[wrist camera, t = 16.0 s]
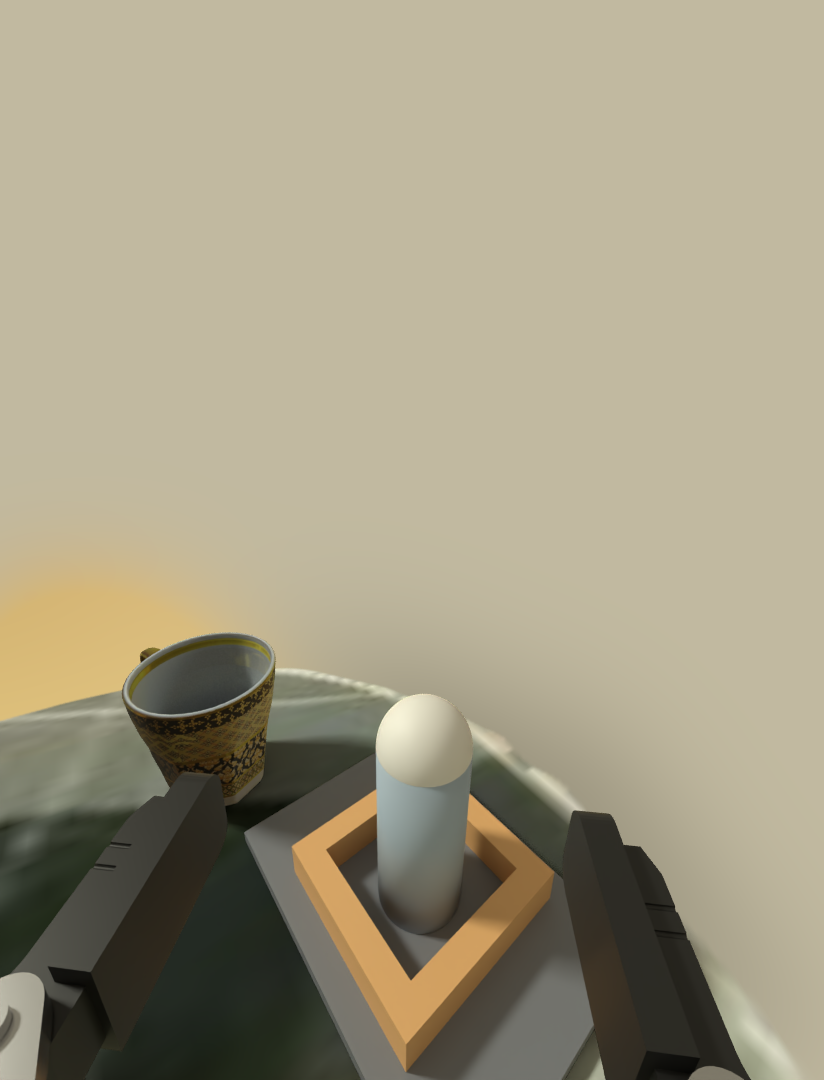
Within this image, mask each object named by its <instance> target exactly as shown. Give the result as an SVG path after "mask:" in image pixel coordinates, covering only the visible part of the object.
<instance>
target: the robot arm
mask: <svg viewBox="0 0 824 1080" xmlns="http://www.w3.org/2000/svg"><path fill="white" fill-rule="evenodd" d="M226 832H227V815H226V809H225V803H224V798H223V792H222V786H221V781H220V778H219V776H218V775H215V774H205V773H194V772H184V773H182V774H181V775H180V776H179V777H178V778H177V779H176V781H175V782H174V784H173V785H172V786H171V788H170V789H169V791H168V792H167V794H166V795H165V797H160V796H153V797H152V798H151V799H150V800H149V801H147V802H146V803H145V804H144V805H143V806H141V807H140V808H139V809H138V810H137V811H135V812H134V813H133V814H132V815H131V816H130V817H129V818H128V819H127V821H126V822H125V823H124V825H123V826H122V827H121V829H120V830H119V831H118V833H117V834H116V835H115V837H114V838H113V840H112V841H111V844H110V846H109V847H107V848H106V849H105V850H104V852H103V853H102V854H101V856H100V857H99V858H98V860H97V861H96V863H95V866H94V868H93V869H90V871H89V872H88V873H87V875H86V876H85V877H84V879H83V880H82V881H81V883H80V884H79V886H78V887H77V888H76V890H75V891H74V892H73V894H72V895H71V896H70V898H69V899H68V900H67V902H66V903H65V904H64V906H63V907H62V909H61V910H60V911H59V913H58V914H57V915H56V917H55V918H54V919H53V921H52V922H51V923H50V925H49V926H48V927H47V929H46V930H45V932H44V933H43V934H42V936H41V937H40V938H39V940H38V941H37V942H36V944H35V945H34V946H33V948H32V949H31V950H30V952H29V953H28V954H27V956H26V957H25V958H24V959H23V961H22V962H21V963H20V964H19V965H18V966H17V967H16V968H15V970H14V971H13V972H12V973H11V974H10V975H7V976H5V977H2V978H0V1080H85V1076H86V1074H87V1072H88V1071H89V1069H90V1067H91V1065H92V1063H93V1061H94V1059H95V1057H96V1055H97V1053H98V1052H99V1050H100V1048H102V1049H108V1050H115V1051H123V1049H124V1046H125V1044H126V1042H127V1040H128V1038H129V1036H130V1034H131V1032H132V1030H133V1028H134V1026H135V1024H136V1022H137V1020H138V1018H139V1016H140V1014H141V1012H142V1010H143V1008H144V1006H145V1004H146V1002H147V1000H148V998H149V996H150V994H151V992H152V990H153V988H154V986H155V984H156V982H157V980H158V977H159V975H160V973H161V971H162V969H163V967H164V965H165V963H166V961H167V959H168V957H169V955H170V953H171V951H172V949H173V947H174V945H175V943H176V941H177V939H178V937H179V935H180V933H181V931H182V929H183V927H184V925H185V923H186V921H187V919H188V917H189V915H190V913H191V910H192V908H193V906H194V904H195V902H196V900H197V898H198V896H199V894H200V892H201V890H202V888H203V886H204V884H205V882H206V880H207V878H208V876H209V874H210V872H211V870H212V868H213V866H214V864H215V862H216V860H217V858H218V856H219V854H220V851H221V849H222V847H223V844H224V841H225V837H226ZM563 881H564V888H565V894H566V898H567V903H568V908H569V912H570V917H571V921H572V926H573V931H574V935H575V940H576V945H577V949H578V954H579V959H580V963H581V968H582V972H583V977H584V982H585V986H586V991H587V996H588V1000H589V1005H590V1010H591V1014H592V1019H593V1024H594V1028H595V1033H596V1037H597V1042H598V1047H599V1051H600V1056H601V1061H602V1065H603V1070H604V1075H605V1079H606V1080H751V1079H750V1078H749V1076H748V1074H747V1072H746V1071H745V1069H744V1067H743V1065H742V1064H741V1062H740V1059H739V1057H738V1055H737V1053H736V1051H735V1048H734V1046H733V1044H732V1041H731V1039H730V1037H729V1034H728V1032H727V1029H726V1027H725V1025H724V1022H723V1020H722V1017H721V1015H720V1013H719V1010H718V1008H717V1005H716V1003H715V1001H714V998H713V996H712V993H711V991H710V989H709V986H708V984H707V981H706V979H705V977H704V974H703V972H702V969H701V967H700V965H699V962H698V960H697V958H696V955H695V953H694V950H693V948H692V946H691V943H690V941H689V940H688V939H687V937H686V931H685V929H684V926H683V924H682V922H681V919H680V917H679V914H678V913H677V912H676V911H675V905H674V903H673V900H672V898H671V895H670V893H669V890H668V888H667V886H666V883H665V881H664V878H663V876H662V874H661V873H660V872H659V870H658V869H657V868H656V866H655V865H654V864H653V862H652V861H651V860H650V859H649V858H648V856H647V855H646V853H645V852H644V851H643V850H642V848H641V847H638V846H628V845H623V842H622V839H621V837H620V834H619V831H618V829H617V826H616V823H615V821H614V819H613V817H612V816H611V815H610V814H606V813H596V812H585V811H573V813H572V816H571V820H570V825H569V830H568V835H567V840H566V845H565V850H564V854H563Z"/></svg>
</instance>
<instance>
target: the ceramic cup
mask: <svg viewBox="0 0 824 1080" xmlns="http://www.w3.org/2000/svg"><path fill="white" fill-rule="evenodd" d="M140 661H141V663H140V664H139V665H138V666H137V667H136V668H135V669H134V670H133V671H132V672H131V673H130V675H129V676H128V678H127V679H126V681H125V683H124V685H123V689H122V698H123V701H124V704H125V706H126V709H127V711H128V714H129V716H130V718H131V720H132V722H133V724H134V725H135V727H136V729H137V731H138V733H139V735H140V736H141V738H142V739H143V741H144V742H145V743H146V745H147V746H148V747H149V749H150V752H151V754H152V756H153V758H154V759H155V761H156V763H157V765H158V767H159V768H160V770H161V772H162V774H163V776H164V778H165V780H166V782H167V784H168V786H169V787H170V788H171V786H172V785H173V784H174V782H175V781H176V779H177V778H178V777H179V776H180V775H181V774H182V773H184V772H194V773H205V774H215V775H218V776H219V778H220V781H221V786H222V792H223V798H224V803H225V806H227V805H232V804H236V803H238V802H239V801H240V800H241V799H242V798H243V797H244V796H245V795H246V794H247V793H248V792H249V791H250V790H251V789H252V788H254V787H255V786H256V785H257V784H258V783H259V782H260V781H261V779H262V777H263V772H264V763H265V746H266V734H267V724H268V717H269V712H270V708H271V703H272V696H273V688H274V678H275V654H274V651H273V649H272V647H271V646H270V645H269V644H268V643H267V642H266V641H264V640H262V639H260V638H258V637H256V636H253V635H248V634H243V633H230V632H229V633H214V634H207V635H201V636H197V637H193V638H189V639H186V640H183V641H180V642H177V643H175V644H172V645H170V646H168V647H166V648H164V649H162V650H160V649H157V648H148V649H146V650H144V651H143V652H141V654H140Z"/></svg>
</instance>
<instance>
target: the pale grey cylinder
mask: <svg viewBox="0 0 824 1080" xmlns="http://www.w3.org/2000/svg"><path fill="white" fill-rule="evenodd" d="M472 758H473V741H472V735H471V731H470V728H469V725H468V723H467V721H466V719H465V718H464V716H463V715H462V713H461V712H460V711H459V710H458V709H457V708H456V707H455V706H454V705H453V704H452V703H450V702H449V701H447V700H446V699H444V698H442V697H439V696H436V695H431V694H417V695H412V696H409V697H406V698H404V699H402V700H401V701H399V702H398V703H396V704H395V705H394V706H393V707H392V708H391V709H390V710H389V711H388V712H387V714H386V715H385V717H384V718H383V720H382V722H381V724H380V727H379V730H378V733H377V739H376V789H377V852H378V894H379V900H380V903H381V906H382V908H383V910H384V912H385V914H386V915H387V917H388V918H389V919H390V921H391V922H392V923H394V924H395V925H396V926H397V927H399V928H400V929H402V930H404V931H406V932H409V933H413V934H429V933H432V932H435V931H437V930H439V929H441V928H442V927H444V926H445V925H446V924H447V923H448V922H449V921H450V920H451V919H452V917H453V916H454V914H455V913H456V910H457V908H458V905H459V902H460V896H461V886H462V874H463V863H464V851H465V839H466V828H467V816H468V804H469V793H470V781H471V769H472Z"/></svg>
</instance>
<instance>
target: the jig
mask: <svg viewBox="0 0 824 1080" xmlns="http://www.w3.org/2000/svg"><path fill="white" fill-rule="evenodd" d="M244 834H245V840H246V842H247V845H248V847H249V849H250V851H251V853H252V855H253V857H254V859H255V861H256V863H257V865H258V867H259V869H260V871H261V873H262V876H263V878H264V880H265V882H266V884H267V886H268V888H269V890H270V892H271V894H272V896H273V898H274V900H275V902H276V904H277V907H278V909H279V911H280V913H281V915H282V917H283V919H284V921H285V923H286V925H287V927H288V929H289V931H290V933H291V936H292V938H293V940H294V942H295V944H296V946H297V948H298V950H299V952H300V954H301V956H302V958H303V960H304V962H305V964H306V967H307V969H308V971H309V973H310V975H311V977H312V979H313V981H314V983H315V985H316V987H317V989H318V991H319V993H320V995H321V998H322V1000H323V1002H324V1004H325V1006H326V1008H327V1010H328V1012H329V1014H330V1016H331V1018H332V1020H333V1022H334V1024H335V1026H336V1029H337V1031H338V1033H339V1035H340V1037H341V1039H342V1041H343V1043H344V1045H345V1047H346V1049H347V1051H348V1053H349V1055H350V1058H351V1060H352V1062H353V1064H354V1066H355V1068H356V1070H357V1072H358V1074H359V1076H360V1078H361V1080H565V1078H566V1076H567V1075H568V1073H569V1071H570V1070H571V1068H572V1066H573V1065H574V1063H575V1061H576V1059H577V1058H578V1056H579V1054H580V1053H581V1051H582V1049H583V1048H584V1046H585V1044H586V1042H587V1041H588V1039H589V1037H590V1036H591V1034H592V1032H593V1030H594V1029H595V1028H594V1024H593V1019H592V1014H591V1010H590V1005H589V1000H588V996H587V991H586V986H585V982H584V977H583V972H582V968H581V963H580V959H579V954H578V949H577V945H576V940H575V935H574V931H573V926H572V921H571V917H570V912H569V908H568V903H567V898H566V894H565V888H564V881H563V879H562V878H561V877H560V876H559V875H558V874H557V873H555V872H554V871H553V870H552V869H551V868H550V867H549V866H548V865H547V864H546V863H545V862H544V861H542V860H541V859H540V858H539V857H538V856H537V855H536V854H535V853H534V852H533V851H532V850H531V849H529V848H528V847H527V846H526V845H525V844H524V843H523V842H522V841H521V840H520V839H519V838H518V837H516V836H515V835H514V834H513V833H512V832H511V831H510V830H509V829H508V828H507V827H506V826H505V825H504V824H502V823H501V822H500V821H499V820H498V819H497V818H496V817H495V816H494V815H493V814H492V813H491V812H489V811H488V810H487V809H486V808H485V807H484V806H483V805H482V804H481V803H480V802H479V801H478V800H476V799H475V798H474V797H473V796H472V795H471V794H470V793H469V804H468V816H467V828H466V839H465V851H464V863H463V874H462V886H461V896H460V902H459V905H458V908H457V910H456V913H455V914H454V916H453V917H452V919H451V920H450V921H449V922H448V923H447V924H446V925H445V926H444V927H442V928H441V929H439V930H437V931H435V932H432V933H429V934H413V933H409V932H406V931H404V930H402V929H400V928H399V927H397V926H396V925H395V924H394V923H392V922H391V921H390V919H389V918H388V917H387V915H386V914H385V912H384V910H383V908H382V906H381V903H380V900H379V894H378V852H377V789H376V752H375V753H373V754H372V755H370V756H368V757H367V758H365V759H363V760H362V761H360V762H358V763H357V764H355V765H354V766H352V767H350V768H349V769H347V770H345V771H344V772H342V773H340V774H339V775H337V776H336V777H334V778H332V779H331V780H329V781H327V782H326V783H324V784H322V785H321V786H319V787H318V788H316V789H314V790H313V791H311V792H309V793H308V794H306V795H304V796H303V797H301V798H300V799H298V800H296V801H295V802H293V803H291V804H290V805H288V806H286V807H285V808H283V809H282V810H280V811H278V812H277V813H275V814H273V815H272V816H270V817H268V818H267V819H265V820H264V821H262V822H260V823H259V824H257V825H255V826H254V827H252V828H250V829H249V830H247V831H246V832H244Z"/></svg>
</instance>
